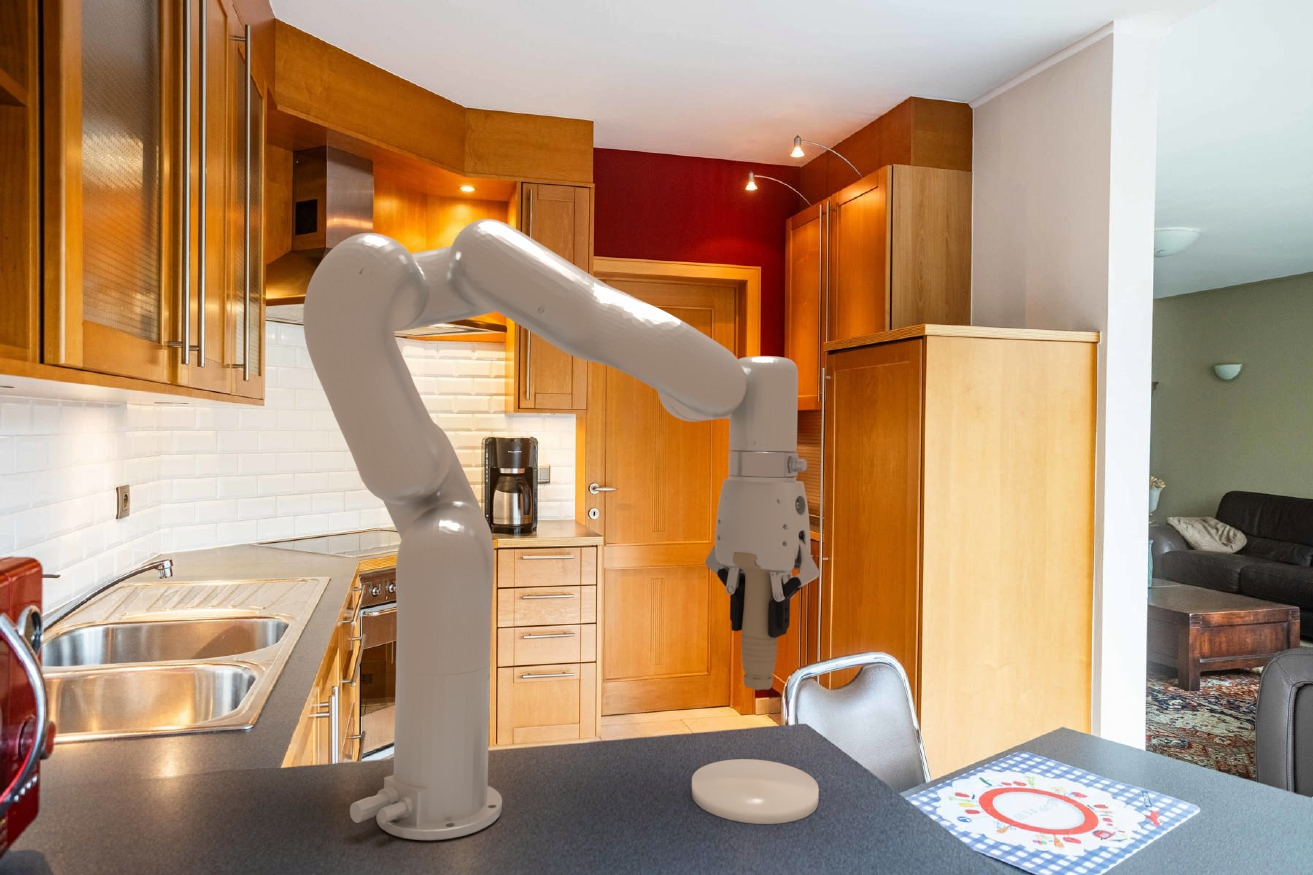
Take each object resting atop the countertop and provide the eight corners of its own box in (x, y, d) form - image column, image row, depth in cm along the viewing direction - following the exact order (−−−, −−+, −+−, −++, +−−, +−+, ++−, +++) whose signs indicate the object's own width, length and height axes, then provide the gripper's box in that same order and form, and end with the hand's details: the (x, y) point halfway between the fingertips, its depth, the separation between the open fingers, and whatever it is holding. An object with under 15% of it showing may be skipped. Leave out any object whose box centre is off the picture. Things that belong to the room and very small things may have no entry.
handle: (784, 695, 92) (787, 556, 92) (726, 690, 94) (728, 553, 94) (789, 683, 97) (792, 551, 97) (733, 678, 98) (736, 548, 99)
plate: (780, 836, 85) (781, 821, 85) (666, 799, 94) (667, 785, 94) (839, 792, 97) (839, 779, 97) (732, 762, 105) (733, 750, 105)
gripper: (846, 470, 93) (843, 637, 93) (716, 465, 103) (713, 616, 103) (816, 471, 87) (812, 650, 87) (681, 465, 97) (678, 626, 97)
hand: (759, 630), depth 95 cm, fingers closed on handle, 4 cm apart
